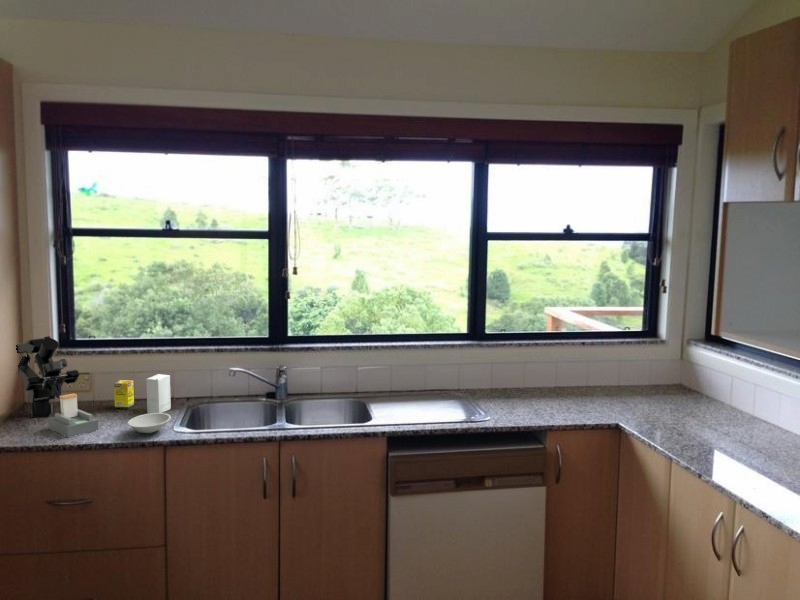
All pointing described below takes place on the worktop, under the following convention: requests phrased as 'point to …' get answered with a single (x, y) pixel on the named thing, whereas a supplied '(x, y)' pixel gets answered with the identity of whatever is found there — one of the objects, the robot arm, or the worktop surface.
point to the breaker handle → (69, 405)
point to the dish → (149, 422)
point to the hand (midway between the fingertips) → (59, 397)
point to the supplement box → (124, 394)
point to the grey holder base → (73, 424)
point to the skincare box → (158, 393)
